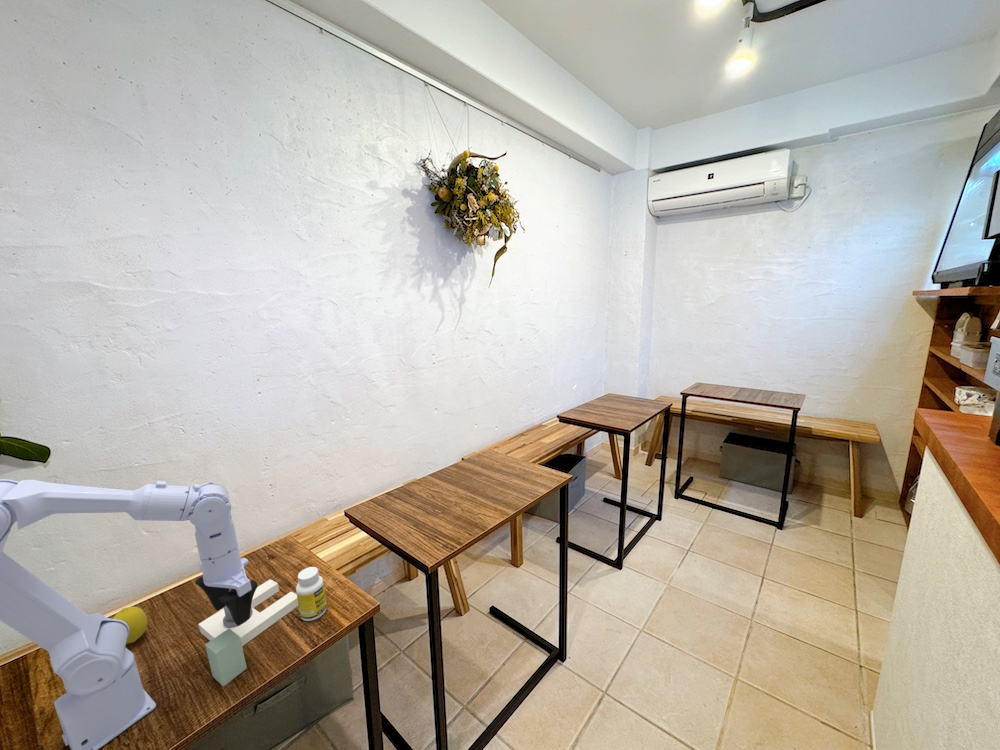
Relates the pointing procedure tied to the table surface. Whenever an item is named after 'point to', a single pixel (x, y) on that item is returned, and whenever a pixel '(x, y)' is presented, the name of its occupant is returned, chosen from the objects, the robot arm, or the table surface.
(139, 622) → the lemon
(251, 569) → the table surface
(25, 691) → the table surface
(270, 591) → the notched board
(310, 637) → the table surface
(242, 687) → the table surface
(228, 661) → the block
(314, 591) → the supplement bottle
